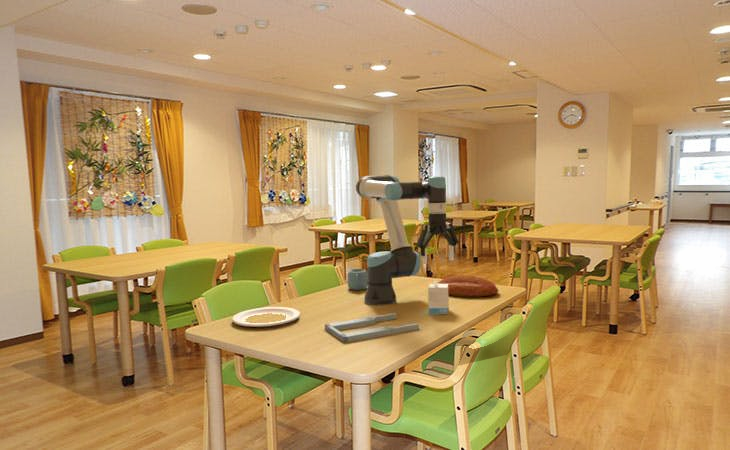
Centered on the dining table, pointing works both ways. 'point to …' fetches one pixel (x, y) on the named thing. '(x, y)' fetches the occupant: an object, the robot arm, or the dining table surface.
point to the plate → (289, 312)
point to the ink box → (438, 298)
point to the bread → (469, 286)
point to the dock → (368, 333)
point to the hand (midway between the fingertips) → (438, 262)
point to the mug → (357, 279)
